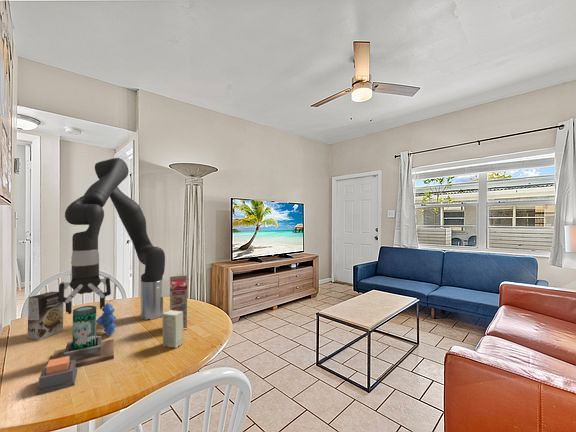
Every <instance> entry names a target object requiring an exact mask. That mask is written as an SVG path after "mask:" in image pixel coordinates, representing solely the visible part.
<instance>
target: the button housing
mask: <svg viewBox="0 0 576 432" xmlns="http://www.w3.org/2000/svg"><path fill="white" fill-rule="evenodd" d="M46 367H47V365H44V366H43V368H42V371H41V372H40V375H39V377H38V387H37V389H36V395H42V394H45V393H49V392H52V391H57V390H62V389H64V388H65V389H66V388H69V387H73V386H75V384H76V380H77V375H78V367H76V359H75V360H71V361H70V366H69V370H67V371H63V372H58V373H54V374H50V375H46ZM75 367H76V368H75Z"/></svg>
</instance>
